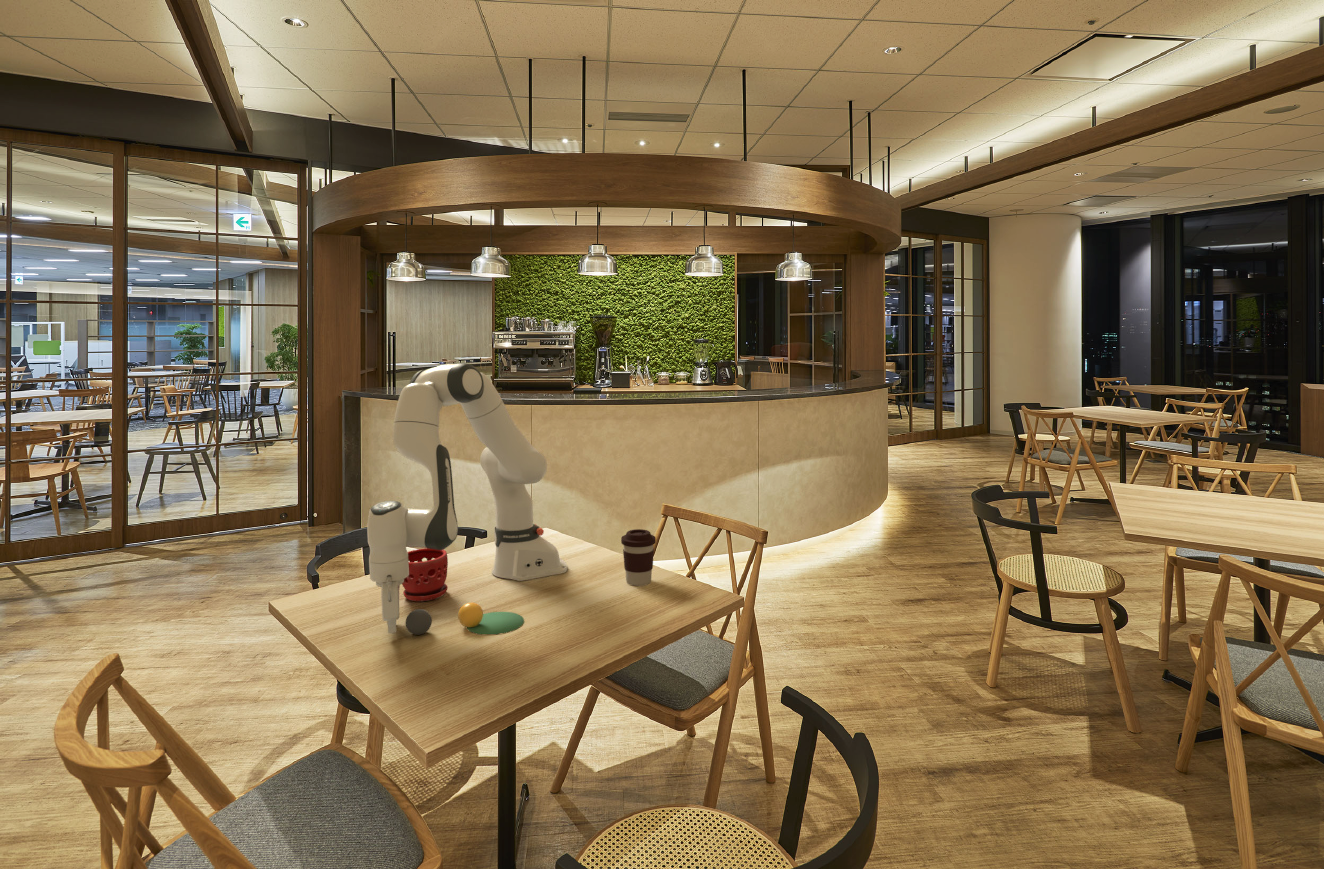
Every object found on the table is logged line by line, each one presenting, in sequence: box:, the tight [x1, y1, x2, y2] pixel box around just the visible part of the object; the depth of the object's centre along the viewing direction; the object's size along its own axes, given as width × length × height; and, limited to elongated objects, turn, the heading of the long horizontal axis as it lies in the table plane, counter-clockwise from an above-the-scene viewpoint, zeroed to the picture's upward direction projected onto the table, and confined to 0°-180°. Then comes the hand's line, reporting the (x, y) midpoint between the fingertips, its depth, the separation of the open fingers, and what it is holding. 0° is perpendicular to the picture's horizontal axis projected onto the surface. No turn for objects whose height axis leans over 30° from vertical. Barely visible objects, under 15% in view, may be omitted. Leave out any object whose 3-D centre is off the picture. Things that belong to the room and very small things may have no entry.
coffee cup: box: [620, 528, 657, 587], centre depth 206 cm, size 10×10×15 cm
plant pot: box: [401, 548, 449, 602], centre depth 195 cm, size 13×13×12 cm
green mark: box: [466, 611, 525, 635], centre depth 177 cm, size 14×14×1 cm
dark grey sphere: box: [404, 608, 433, 636], centre depth 170 cm, size 6×6×6 cm
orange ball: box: [457, 601, 484, 628], centre depth 175 cm, size 6×6×6 cm
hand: (392, 624), depth 172 cm, fingers open, 8 cm apart
